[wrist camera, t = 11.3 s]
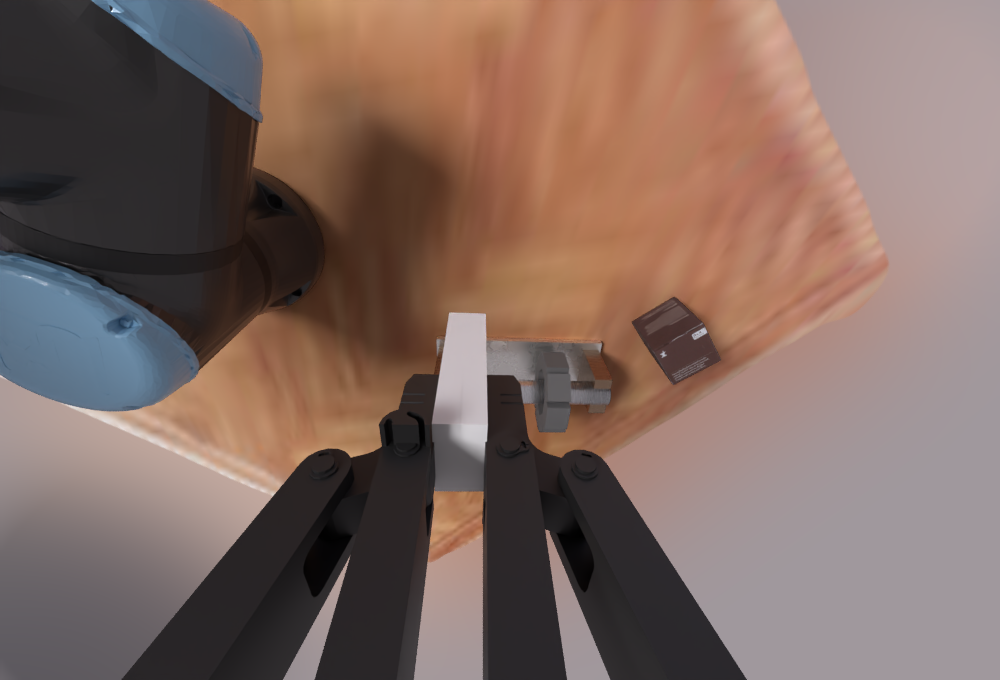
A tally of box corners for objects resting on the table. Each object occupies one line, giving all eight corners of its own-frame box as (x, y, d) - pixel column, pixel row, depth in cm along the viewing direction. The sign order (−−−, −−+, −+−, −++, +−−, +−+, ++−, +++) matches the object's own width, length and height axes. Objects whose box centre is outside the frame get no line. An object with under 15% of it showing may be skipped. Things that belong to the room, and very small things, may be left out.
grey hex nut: (532, 397, 52) (541, 449, 44) (539, 338, 48) (551, 384, 40) (550, 397, 53) (563, 449, 45) (559, 339, 48) (575, 385, 40)
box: (649, 352, 52) (672, 386, 46) (630, 320, 49) (651, 351, 43) (692, 329, 50) (722, 361, 44) (675, 294, 47) (704, 323, 41)
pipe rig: (438, 380, 53) (432, 421, 46) (437, 335, 49) (429, 373, 42) (591, 383, 54) (607, 424, 47) (600, 340, 50) (619, 377, 43)
